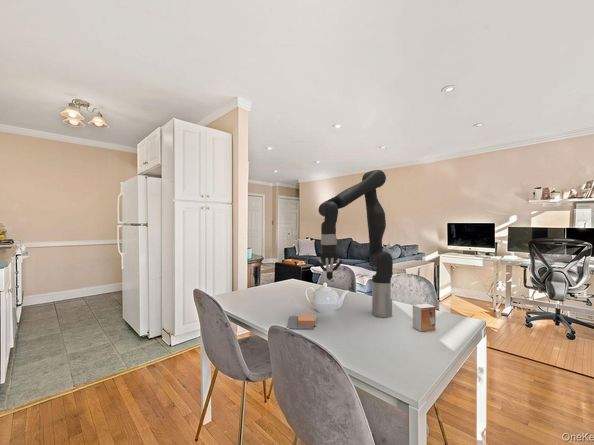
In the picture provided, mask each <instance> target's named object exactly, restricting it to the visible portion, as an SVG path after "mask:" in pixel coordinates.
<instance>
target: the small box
mask: <svg viewBox="0 0 594 445" xmlns="http://www.w3.org/2000/svg"><path fill="white" fill-rule="evenodd" d="M412 328H413V329H415V330H417V331H420V332H421V333H422V332H428V331H436V306H434V305H432V304H429V303H420V304H412Z"/></svg>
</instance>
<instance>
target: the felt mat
mask: <svg viewBox="0 0 594 445" xmlns="http://www.w3.org/2000/svg"><path fill="white" fill-rule="evenodd" d="M298 316H299V315H288V322H287V327H286V328H289V329H288V330H314V327H315V326H298Z"/></svg>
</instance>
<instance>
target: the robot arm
mask: <svg viewBox="0 0 594 445" xmlns="http://www.w3.org/2000/svg"><path fill="white" fill-rule="evenodd" d="M386 181H387V176H386V173H385V172H384V171H383V170H381V169H373V170H370V171H367V172H365V173H364V174H363V175H362V178H361V182H359V183H356V184H355V185H352V186H350V187H348V188H347V189H346V188H345V189H344V190H342V191H340V193H338V194H336V195H335V196H334V197H331V198H329V199H327V200H325V201H323V202H322V203H320V205H319V206H318V214H319V215H320V216H322V217H324V220H323V222H322V223H321V224H320V225H321V226H320V228H321V230H320V231H321V234H320V256H319V259H317V260H316V261H315V262H316V264H318V266H319V267H320V269H321V270H322V271H323V272H326V274H325V275H326V279H327V280H329V281H331V280H332V279H333V277H334V276H333V274H334V272H335V271H337V270H338V268H339V267H341V264H342V263H343V260H342V259H340V258H339V256H338V241H337V229H336V228H337V222H338V216H339V210H341V209H343V208H345V207H347V206H348V205H350V204H352V203H353V202H354V201H356V200H358V199H359V198H360V197H362V196H364V200H365V202H364V203H365V210H366V222H367V229H368V230H367V231H368V240H369V241H368V242H369V243H368V244H369V245H368V246H369V249H368V250H369V251H368V255H369V256H368V259H369V262H370V265H371V266H372V267H374V268H375V273H374V274H373V275H372V276H371V282H372V283H371V284H372V285H371V286H372V287H371V288H372V289H371V294H372V296H371V298H372V299H371V300H372V302H371V303H372V305H371V308H372V309H371V310H372V311H371V313H372V315H373V316H374V317H378V318H389V317H390V318H391V317H393V297H391V295H392V294H391V292H392V290H391V287H392V286H391V283H392V282H391V280H392V277H393V270H394V269H393V268H394V265H393V264H394V262H393V260H394V258H393V256H392V254H391V253H390V252H388V251H384V249H383V237H384V234H385V231H386V228H387V227H386V226H387V222H386V221H387V220H386V214H385V210H384V208H383V207H382V204H381V203H380V201H379V199H378V195H377V189H378V188H381V187H382V186H384V185H385V183H386ZM322 262H323V264H324V265H325V266H324V265H323V264H322ZM335 263H336V264H335Z"/></svg>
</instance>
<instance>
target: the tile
mask: <svg viewBox="0 0 594 445" xmlns="http://www.w3.org/2000/svg"><path fill="white" fill-rule="evenodd" d="M297 316H298V326H313V327H316V313H313V312H311V313H310V312H309V313H308V312H307V313H306V312H304V313H303V312H302V313H301V312H299V313H298V315H297Z"/></svg>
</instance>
